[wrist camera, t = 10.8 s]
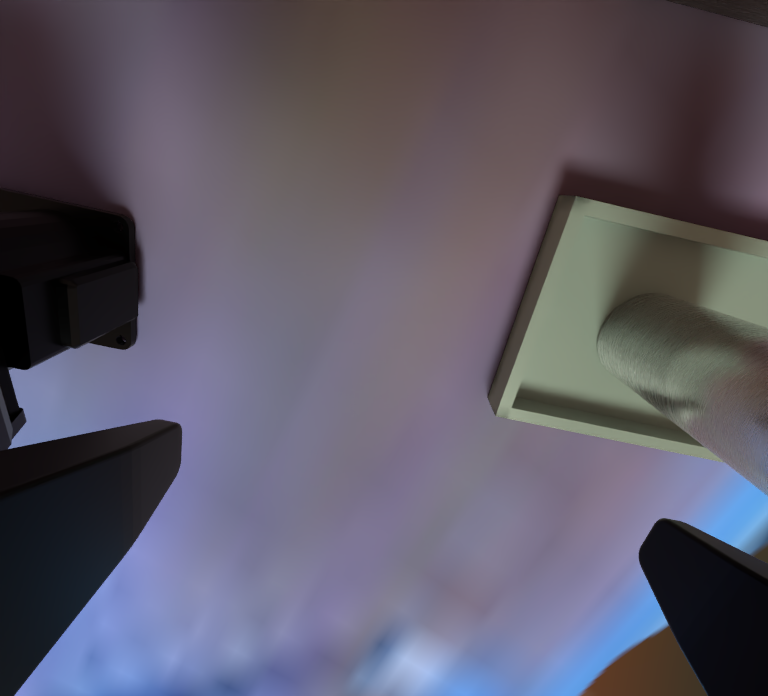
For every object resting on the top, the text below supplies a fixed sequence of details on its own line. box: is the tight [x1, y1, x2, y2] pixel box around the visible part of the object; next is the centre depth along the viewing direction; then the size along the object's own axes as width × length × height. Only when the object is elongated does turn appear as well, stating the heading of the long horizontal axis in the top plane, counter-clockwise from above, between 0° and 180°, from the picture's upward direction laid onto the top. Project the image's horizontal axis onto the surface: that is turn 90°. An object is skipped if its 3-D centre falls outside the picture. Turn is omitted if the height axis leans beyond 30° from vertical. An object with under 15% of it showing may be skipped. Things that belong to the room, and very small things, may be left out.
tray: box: [488, 195, 768, 463], centre depth 19 cm, size 13×10×2 cm
